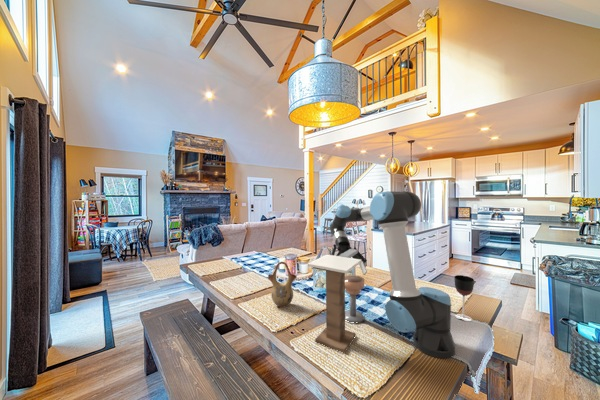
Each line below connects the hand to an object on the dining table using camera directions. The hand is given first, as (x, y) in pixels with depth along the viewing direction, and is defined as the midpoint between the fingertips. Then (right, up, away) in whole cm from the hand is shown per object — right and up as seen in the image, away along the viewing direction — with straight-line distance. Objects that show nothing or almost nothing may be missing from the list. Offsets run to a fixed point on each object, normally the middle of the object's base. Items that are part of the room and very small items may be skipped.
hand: (353, 272), depth 117 cm
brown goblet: (+1, -24, +4) cm, 25 cm away
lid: (-7, +8, -9) cm, 14 cm away
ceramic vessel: (-36, -24, +18) cm, 47 cm away
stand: (-11, -25, -13) cm, 30 cm away
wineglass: (+55, -24, +3) cm, 60 cm away
